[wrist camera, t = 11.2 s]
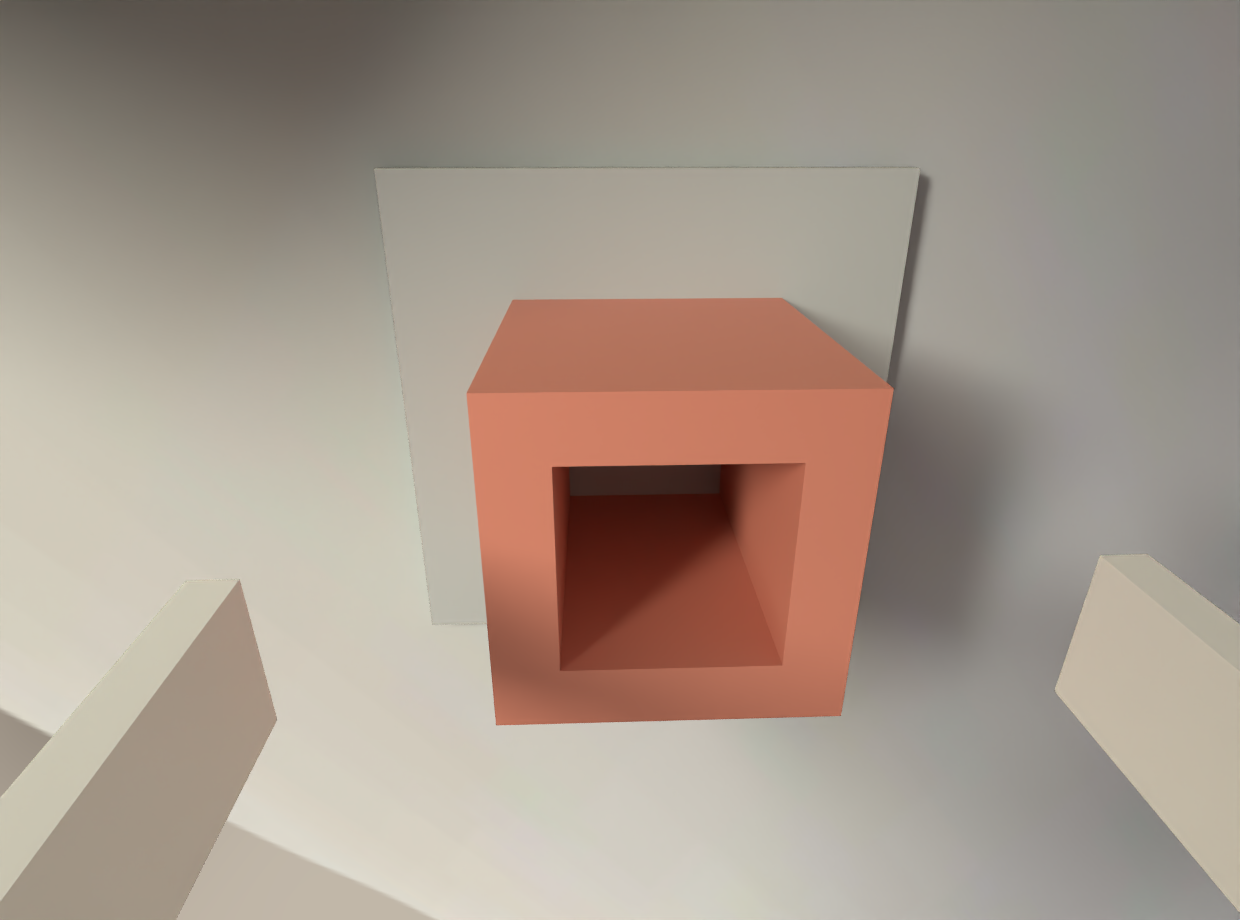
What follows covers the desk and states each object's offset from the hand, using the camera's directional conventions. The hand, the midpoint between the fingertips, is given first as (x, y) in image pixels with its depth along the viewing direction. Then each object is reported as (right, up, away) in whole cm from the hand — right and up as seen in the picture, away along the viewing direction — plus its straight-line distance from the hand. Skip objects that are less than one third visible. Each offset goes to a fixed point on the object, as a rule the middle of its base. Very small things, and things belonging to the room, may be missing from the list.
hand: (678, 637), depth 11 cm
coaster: (0, +4, +10) cm, 11 cm away
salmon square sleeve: (0, +4, +10) cm, 11 cm away
